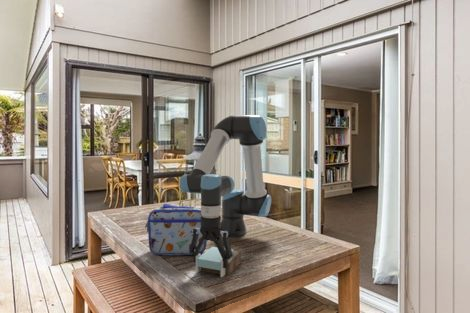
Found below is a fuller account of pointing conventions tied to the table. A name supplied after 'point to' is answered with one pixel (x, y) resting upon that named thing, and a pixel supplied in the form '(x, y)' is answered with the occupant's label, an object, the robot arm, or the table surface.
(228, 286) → the table surface
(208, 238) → the robot arm
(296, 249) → the table surface
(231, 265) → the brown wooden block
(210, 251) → the teal rectangular block
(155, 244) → the lunch box
